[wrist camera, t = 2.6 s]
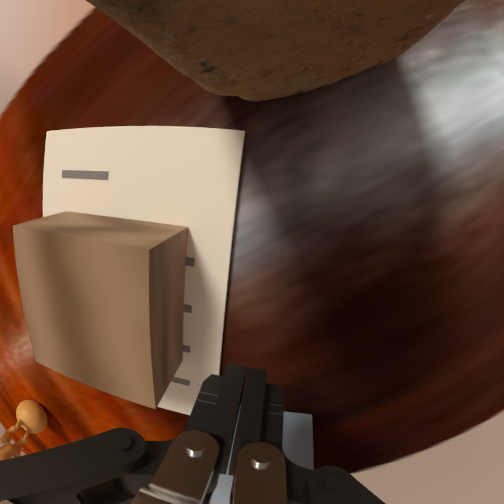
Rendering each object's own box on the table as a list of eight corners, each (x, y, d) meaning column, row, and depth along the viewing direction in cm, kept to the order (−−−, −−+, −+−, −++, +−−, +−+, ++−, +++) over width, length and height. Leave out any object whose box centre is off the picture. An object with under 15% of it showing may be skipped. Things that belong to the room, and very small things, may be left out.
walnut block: (187, 226, 17) (149, 250, 12) (182, 360, 19) (155, 409, 14) (65, 211, 17) (12, 225, 13) (75, 328, 20) (36, 361, 15)
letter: (245, 131, 15) (244, 130, 15) (215, 418, 21) (214, 421, 20) (49, 131, 16) (46, 131, 16) (67, 371, 22) (65, 373, 21)
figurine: (13, 380, 24) (-45, 435, 13) (32, 372, 23) (-36, 437, 12) (55, 433, 26) (8, 494, 14) (79, 432, 25) (27, 504, 13)
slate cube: (311, 413, 20) (313, 478, 14) (294, 457, 21) (292, 513, 16) (231, 402, 20) (213, 465, 14) (225, 447, 22) (211, 502, 16)
